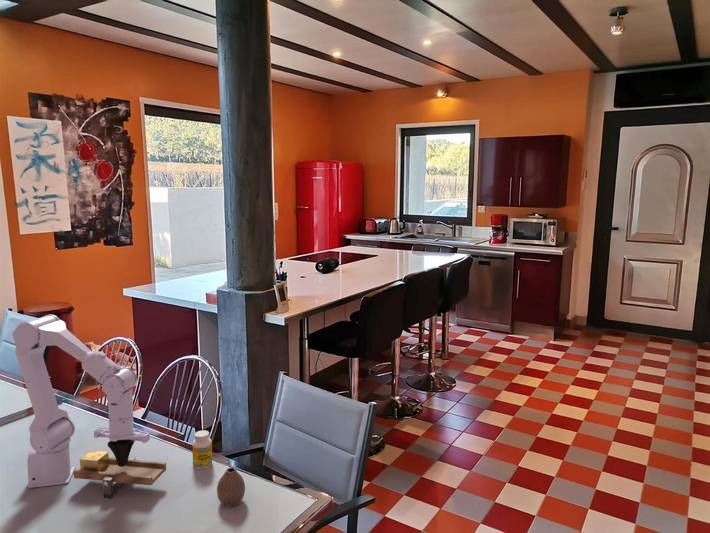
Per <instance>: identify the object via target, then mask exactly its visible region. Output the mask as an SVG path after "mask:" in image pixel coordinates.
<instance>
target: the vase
mask: <svg viewBox="0 0 710 533" xmlns="http://www.w3.org/2000/svg"><path fill="white" fill-rule="evenodd" d="M218 480H219V481H218V482H217V487H216V495H217V498H218V501H219V502H220V503H221V504H222V505H223V506H225V507H229V508H231V507H235V506H237V505H238V504H240V503H241V501H242V500H243V498H244V496H245V493H246V484H245V480H244V478H243V476H242V475H241V474H240V473H239V472H238V471H237V469H236V468H235V467H228V468H226V470H225V471H224V473H223V475H222V476H221V477H220V479H218Z"/></svg>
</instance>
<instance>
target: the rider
mask: <svg viewBox="0 0 710 533" xmlns="http://www.w3.org/2000/svg"><path fill="white" fill-rule="evenodd" d="M109 458H110V457H109V452H108V451H100V450H93V449H92V450H90V451H88V452H87V453H86V454H84V455H83V456H82V457H80V458H79V470H90V471H101V470H103V469H104V468H105V467H106V466H107V465H109Z"/></svg>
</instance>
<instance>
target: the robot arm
mask: <svg viewBox="0 0 710 533" xmlns="http://www.w3.org/2000/svg"><path fill="white" fill-rule="evenodd" d="M66 325H67V324H66V322H65V321H63V320H62V319H60V318H59V317H58V316H57V315H54V314H45V315H44V316H41V317H38V318H35V319H32V320H28V321H23V322H21V323H19V324H18V325H17V326H16V328H15V329H14V330H13V332H11V333H12V338H13V341H14V343H15V355H16V359H17V362H18V365H19V369H20V371H21V375H22V378H23V381H24V384H25V388H26V391H27V394H28V398H29V401H30V404H31V408H32V410H33V414H34V418H33V420H32V422H31V423H30V425H29V427H28V430H29V433H30V436H29V444H30V447H31V449H30V450H29V452H28V455H27V461H26V462H27V476H28V477H27V478H28V479H27V480H28V485H27V489H31V488H32V489H33V488H39V487H49V486H57V485H67V484H69V482H70V481H71V478H72V477H73V475H74V473H73V471H74V470H75V469H76V467H75V466H71V456H70V453H71V452H70V442H71V437H73V435H74V434H75V431H76V427H75V423H74V422H73V420H72V419H71V418H70V417H69V413H68V411H66V410H64V409H61V408H59V405H58V402H57V398H56V395H55V392H54V389H53V386H52V383H51V382H52V381H51V379H50V375H49V372H48V369H47V366H46V362H45V359H44V356H43V351H45V349H46V347H48V346H50V347H51V346H55V347H57V348H60V349H61V350H62V351H64V352H66V353H67V354H69V355H70V356H72V357H73V358H75V359H76V360H78V361H80V362H81V367H82V370H83V371H85V372H86V373H87V374H88V375H89V376H91V377H92V378H94V379H95V380H96V381H98V382H99V383H100V384H101V389H102V391H103V392H104V394H105V395H106V401H107V404H108V405H107V406H108V424H109V425H108V427H97V428H96V429H94V430H93V438H95V439H98V438H106V439H107V438H108V439H109V441H108V443H107V447H108V448H109V449H110V451H111V452H112V453H113V455H114V458H116V460H117V463H118V466H119V467H124V466H125V465H126V464H127V463H128V458H129V457H130V453H131V450H132V447H133V445H134V444H135V442H136V441H137V442H142V443H143V444H146V443H147V442H150V438H151V435H150V434H151V433H150V432H147V431H143V430H141V429H137V428H135V427H134V404H133V387H134V386H135V385H136V383H137V375H136V373H135V371H134V370H133V369H132V368H131V367H129V366H122V365H120V364H118V363H116V362H115V361H113V360H111V359H110V358H109V357H107V354H106V353H105V352H101V351H99V350H97V351H92V350H91V349H90V348H89V347H87V345H86V344H84V342H82V341H80V339H78V337H76V336H75V335H74V334H73V333H72V332H71V331H69V330H68V329H67V326H66Z"/></svg>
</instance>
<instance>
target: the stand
mask: <svg viewBox="0 0 710 533" xmlns="http://www.w3.org/2000/svg"><path fill="white" fill-rule="evenodd" d="M128 459H131V460H137V459H136V458H135V457H130V456H129V458H128ZM127 484H128V483H120V482H113V478H110V477H105V478H104V479H103V481H102V491H103V499H112V498H113V497H114V496H115V495H117V494H118V493H119V492H120V491H121V490H122V489H123V488H124V487H125V486H126V485H127ZM118 491H119V492H118Z"/></svg>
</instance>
